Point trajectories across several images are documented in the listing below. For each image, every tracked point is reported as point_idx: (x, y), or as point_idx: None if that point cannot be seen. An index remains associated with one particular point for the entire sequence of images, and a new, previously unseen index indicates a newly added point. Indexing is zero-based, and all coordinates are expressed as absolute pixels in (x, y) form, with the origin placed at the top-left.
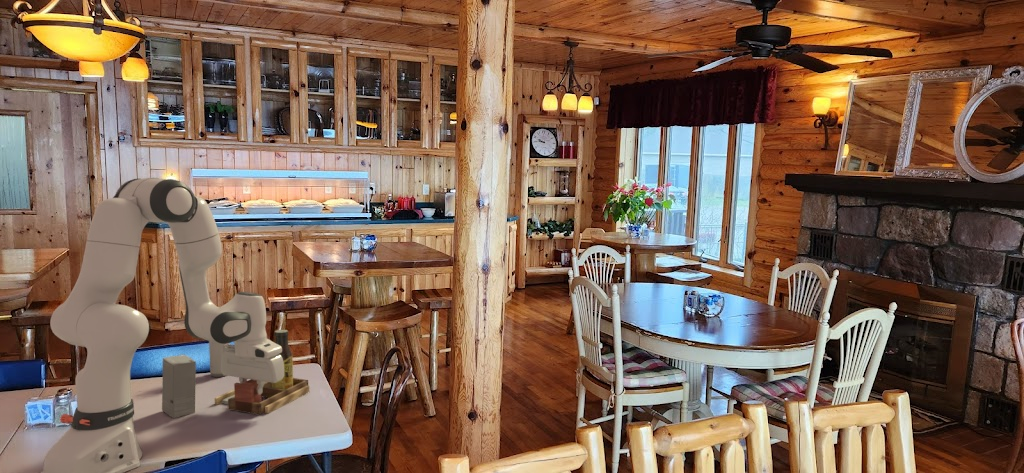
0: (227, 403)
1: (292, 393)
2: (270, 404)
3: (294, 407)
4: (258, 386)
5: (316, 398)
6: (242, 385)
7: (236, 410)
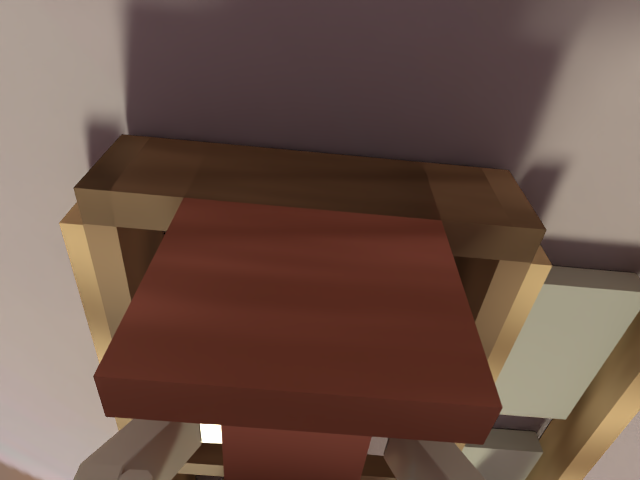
0: (582, 273)
1: None
2: (92, 276)
3: (25, 328)
4: (143, 428)
5: (42, 444)
6: (305, 384)
7: (408, 162)
